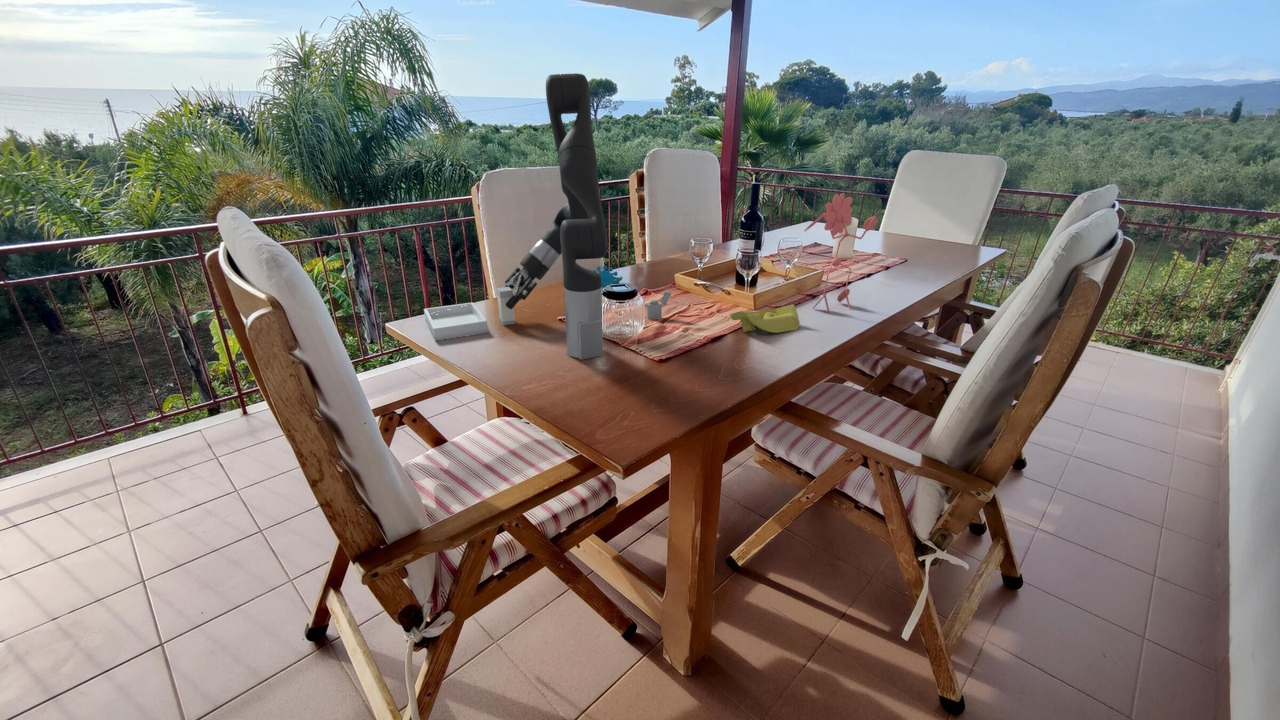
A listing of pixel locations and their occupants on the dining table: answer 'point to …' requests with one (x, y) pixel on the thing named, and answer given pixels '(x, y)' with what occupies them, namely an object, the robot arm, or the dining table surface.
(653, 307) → the lighter
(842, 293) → the pink flower stick figure
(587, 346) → the robot arm
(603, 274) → the blue irregular piece
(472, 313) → the parts tray
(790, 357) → the dining table surface
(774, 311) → the plastic component
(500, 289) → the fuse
